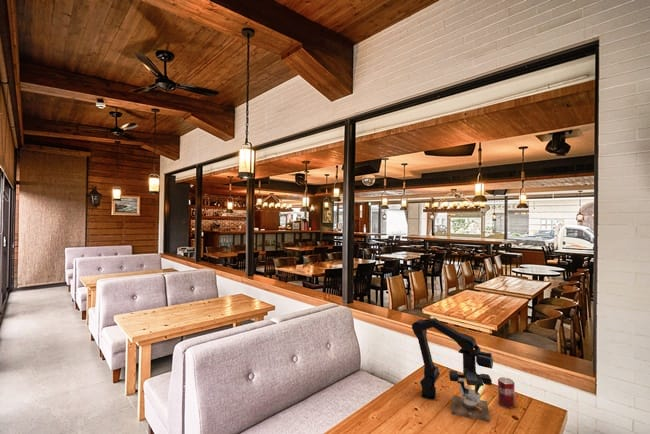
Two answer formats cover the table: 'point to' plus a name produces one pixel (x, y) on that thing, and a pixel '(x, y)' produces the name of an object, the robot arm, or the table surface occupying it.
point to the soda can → (506, 392)
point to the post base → (475, 414)
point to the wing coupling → (470, 398)
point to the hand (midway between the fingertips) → (470, 395)
